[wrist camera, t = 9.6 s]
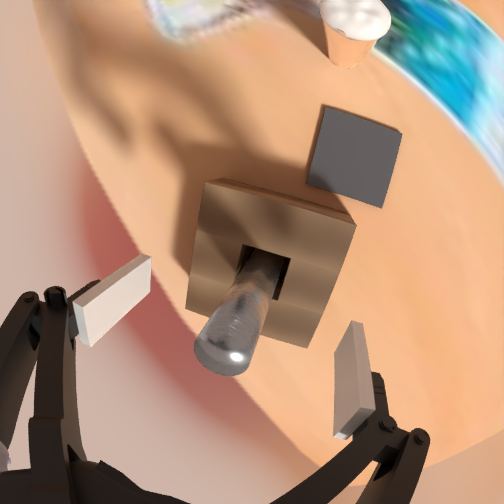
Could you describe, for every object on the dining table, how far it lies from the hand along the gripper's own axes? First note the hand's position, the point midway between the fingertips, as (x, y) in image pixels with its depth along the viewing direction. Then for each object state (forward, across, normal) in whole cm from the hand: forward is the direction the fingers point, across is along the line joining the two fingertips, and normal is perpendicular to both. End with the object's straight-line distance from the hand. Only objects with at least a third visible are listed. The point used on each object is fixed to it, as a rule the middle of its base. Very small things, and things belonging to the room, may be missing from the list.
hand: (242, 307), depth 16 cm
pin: (+10, 0, -1) cm, 10 cm away
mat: (+10, +5, +10) cm, 15 cm away
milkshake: (+11, +2, +19) cm, 22 cm away
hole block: (+10, 0, -1) cm, 10 cm away
